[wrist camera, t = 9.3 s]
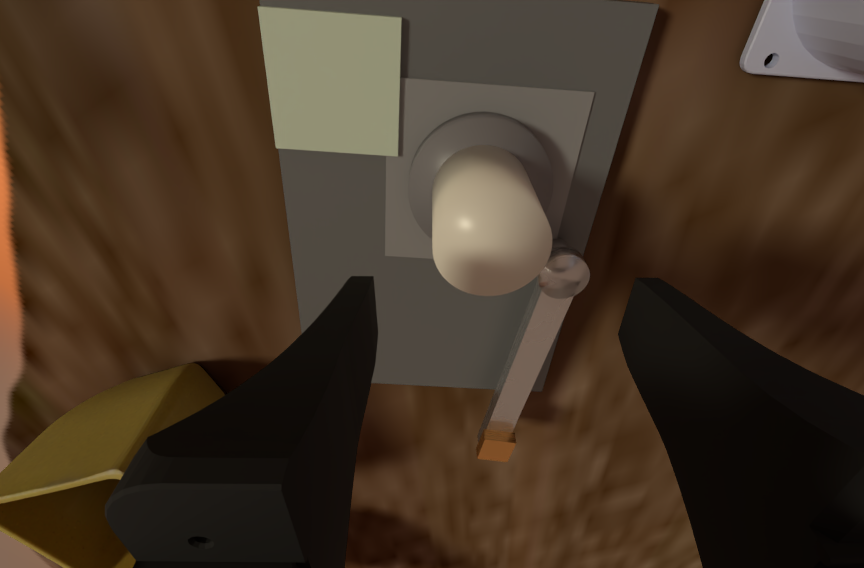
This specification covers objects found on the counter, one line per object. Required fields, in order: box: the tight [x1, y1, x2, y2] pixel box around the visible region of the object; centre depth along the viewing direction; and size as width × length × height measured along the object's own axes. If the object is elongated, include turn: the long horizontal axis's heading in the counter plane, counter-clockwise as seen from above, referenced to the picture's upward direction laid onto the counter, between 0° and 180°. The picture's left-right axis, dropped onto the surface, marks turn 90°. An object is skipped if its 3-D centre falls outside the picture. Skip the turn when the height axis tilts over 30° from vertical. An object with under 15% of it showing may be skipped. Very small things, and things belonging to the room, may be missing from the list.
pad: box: [258, 6, 402, 157], centre depth 18 cm, size 5×5×1 cm
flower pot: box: [0, 363, 225, 568], centre depth 26 cm, size 9×9×9 cm
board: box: [260, 0, 659, 392], centre depth 21 cm, size 14×20×2 cm
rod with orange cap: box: [476, 246, 590, 462], centre depth 23 cm, size 14×2×2 cm, turn 169°
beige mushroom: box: [408, 111, 553, 296], centre depth 18 cm, size 6×6×6 cm
